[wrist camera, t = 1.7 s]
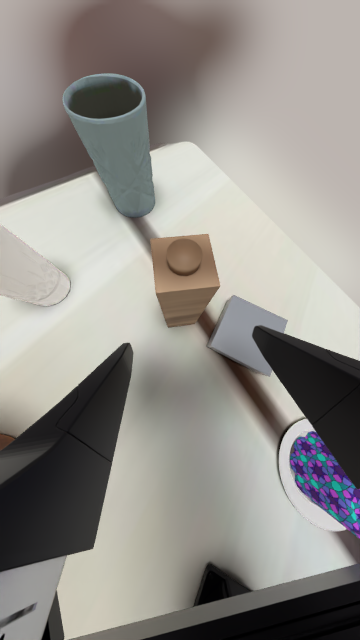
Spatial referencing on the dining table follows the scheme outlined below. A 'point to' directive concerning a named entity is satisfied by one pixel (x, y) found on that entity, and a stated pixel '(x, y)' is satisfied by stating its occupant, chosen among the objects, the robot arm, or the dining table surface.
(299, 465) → the purple patterned hat
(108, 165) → the green cup
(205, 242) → the column
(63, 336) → the dining table surface
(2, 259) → the white cup
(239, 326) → the base brick
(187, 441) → the dining table surface
